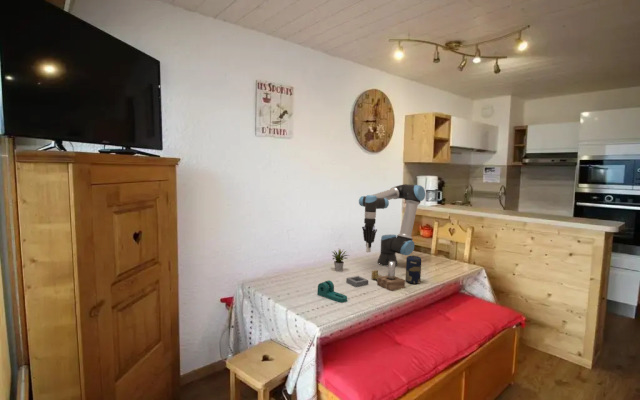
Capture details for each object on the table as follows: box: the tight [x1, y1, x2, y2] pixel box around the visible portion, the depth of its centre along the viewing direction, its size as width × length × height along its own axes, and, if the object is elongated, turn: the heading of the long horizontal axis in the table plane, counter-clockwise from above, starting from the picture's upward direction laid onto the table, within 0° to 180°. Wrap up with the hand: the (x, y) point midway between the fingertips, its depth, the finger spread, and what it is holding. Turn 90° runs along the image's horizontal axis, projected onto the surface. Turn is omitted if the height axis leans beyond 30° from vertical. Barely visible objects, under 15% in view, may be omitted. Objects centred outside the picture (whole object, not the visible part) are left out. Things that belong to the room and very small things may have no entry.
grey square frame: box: [345, 275, 369, 288], centre depth 211 cm, size 10×10×3 cm
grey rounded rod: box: [387, 261, 396, 280], centre depth 208 cm, size 4×4×16 cm
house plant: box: [332, 248, 349, 272], centre depth 237 cm, size 14×14×16 cm
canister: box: [405, 255, 422, 285], centre depth 217 cm, size 10×10×18 cm
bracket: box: [316, 280, 348, 304], centre depth 186 cm, size 18×7×8 cm, turn 48°
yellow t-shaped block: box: [371, 269, 382, 280], centre depth 217 cm, size 10×4×6 cm, turn 33°
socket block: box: [376, 274, 406, 292], centre depth 208 cm, size 12×12×5 cm
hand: (368, 251), depth 226 cm, fingers closed
